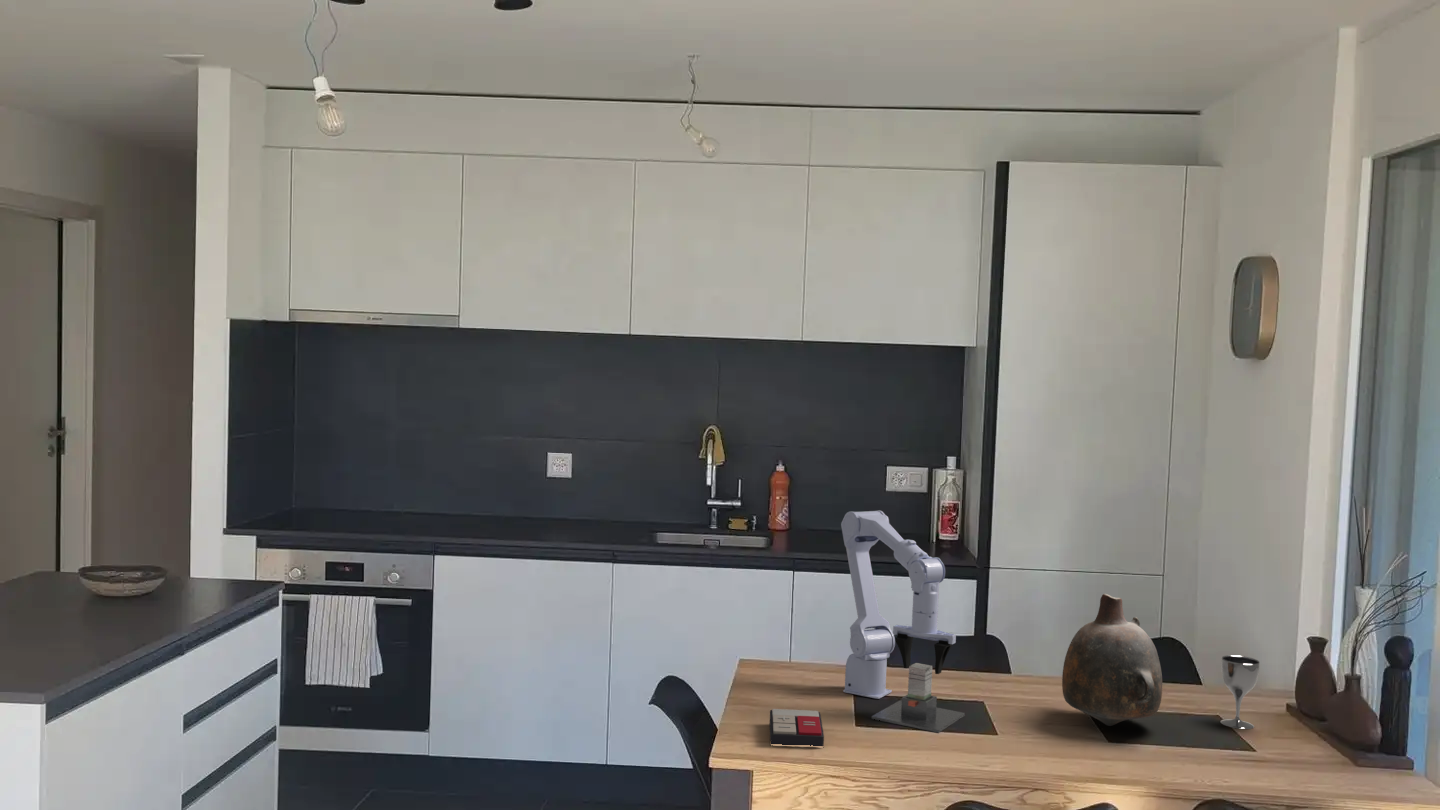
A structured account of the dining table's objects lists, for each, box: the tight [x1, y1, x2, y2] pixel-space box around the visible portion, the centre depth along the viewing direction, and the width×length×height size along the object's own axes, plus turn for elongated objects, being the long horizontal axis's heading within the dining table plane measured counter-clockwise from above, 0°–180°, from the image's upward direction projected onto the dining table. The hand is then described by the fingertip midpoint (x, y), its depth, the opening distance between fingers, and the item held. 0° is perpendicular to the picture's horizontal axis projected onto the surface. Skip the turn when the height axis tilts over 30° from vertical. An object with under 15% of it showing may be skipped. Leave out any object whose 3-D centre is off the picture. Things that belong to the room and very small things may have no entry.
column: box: [907, 662, 933, 701], centre depth 273 cm, size 4×4×8 cm
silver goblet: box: [1220, 654, 1260, 730], centre depth 277 cm, size 8×8×15 cm
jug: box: [1061, 593, 1163, 727], centre depth 272 cm, size 24×21×30 cm
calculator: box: [769, 708, 825, 747], centre depth 256 cm, size 11×4×15 cm
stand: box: [871, 694, 966, 734], centre depth 273 cm, size 16×16×5 cm
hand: (922, 670), depth 275 cm, fingers open, 7 cm apart
